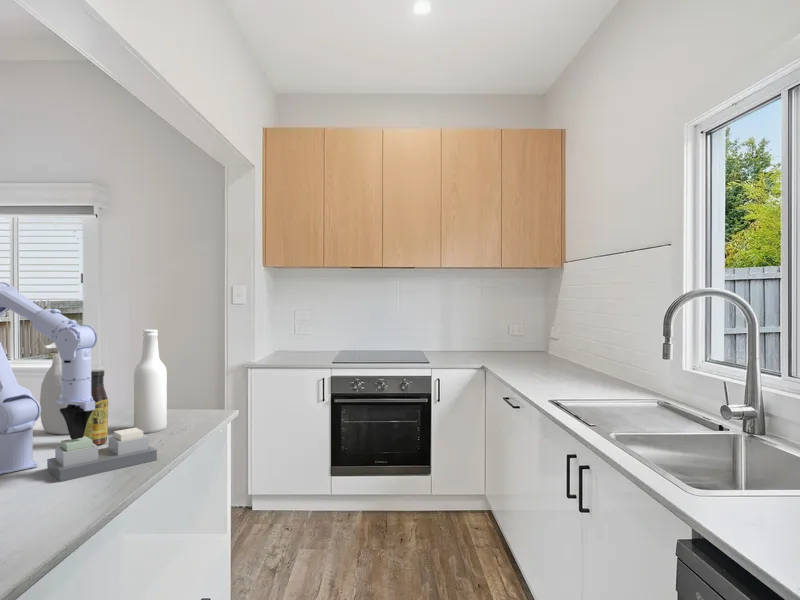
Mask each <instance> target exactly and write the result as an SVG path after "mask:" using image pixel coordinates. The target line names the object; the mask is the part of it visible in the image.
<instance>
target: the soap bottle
mask: <svg viewBox="0 0 800 600" xmlns="http://www.w3.org/2000/svg"><path fill="white" fill-rule="evenodd" d="M42 348H43V349H57V347H56V345H55V341H53V342H52V343H50V344H47V345H42ZM59 395H62V360H61V357H60V353H59V350H58V349H57V353H55V354H53V355H52V364H51V365H50V367H49V369H48V371H47V372H46V373H45V375H44V378H43V379H42V382H41V388H40V395H39V396H40V397H39V404H40V406H41V414H40V422H41V425H42V428H43V430H44V432H46V433H49V434H52V435H69V431H68V427H67V424H66V421H65V419H64V417H63V415H62V414H61V412H60V409H61V408H67V406H68V404H56V400H59Z"/></svg>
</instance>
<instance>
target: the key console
mask: <svg viewBox="0 0 800 600" xmlns="http://www.w3.org/2000/svg"><path fill="white" fill-rule="evenodd" d="M149 438H150V437H149V436H148V435H146V434H145V433H143V437H142V438H136V439H131V440H126V441H121V442H120V441H119V440H117V439H115V438H114V435H113V436H109V437H108V447H103V448H99V445H95V444H94V443H93V447H89V448H84V449H78V450H73V451H68V452H66V451H65V450H64V449H62V448H61V445H57V446H55V453H54V454H55V457H50V458H47V459H46V460H47V461H46V462H47V465H46V467H47V468H46V469H47V471H48V473H50V474H51V475H52V476H53V477H54V478H56V479H57V481H59V482H60V483H61V482H66V481H70V480H73V479H74V480H75V479H80V478H83V477H87V476H92V475H96V474H100V473H101V474H102V473H105V472H109V471H115V470H119V469H124V468H127V467H132V466H137V465H141V464H145V463H149V462H156V461H157V458H158V456H157V451H158V449H156V448H154V447H152V446H150V445H149V442H150V441H149V440H150V439H149Z"/></svg>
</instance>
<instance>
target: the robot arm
mask: <svg viewBox="0 0 800 600" xmlns="http://www.w3.org/2000/svg"><path fill="white" fill-rule="evenodd" d="M7 310H9V311H12V312H14V313H15V314H16V315H19V316H21V317H23V318H25V319H26V320H29V321H30V322H31V323H32V329H34V330H35V331H37V332H38V333H40V334H42V335H43V336H45V337H46V338H48V339H50V340H51V341H53V342H55V345H56V347H57V348H56V349H57V351H58V350H59V353H60V357H61V360H62V395H59V400H56V404H68V406H67V408H61V409H60V412H61V414H62V415H63V417H64V419H65V421H66V424H67V427H68V431H69V434H68V435H69V437H70V438H69V439H73V440H74V439H79V438H83V435H84V432H85V428H86V424H87V421H88V419H89V417H90V415H91V413H92V411H93V410H95V401H93V398H92V396H91V370H92V349H93V348H94V347H95V346H96V344H97V341H98V335H97V332H96V330H95V329H94V328H93V327H91V325H88V324H82V325H80V324H78V321H77V320H74V319H70V318H68V317H67V316H65V315H63V314H61V311H62V310H60V309H58V308H41V307H40V306H39V305H38V304H36V303H34V302H33V301H32V300H31V299H29V298H27V297H26V296H25V295H24V294H21V292H19V290H18V288H17V287H16V286H13V285H11V284H9V283H8V282H5V281H3V282H2V281H1V282H0V318H1V317H2V316H3V315H4V314H5V312H6V311H7ZM40 414H41V406H40V401H38V399H36V398H35V397H34V395H33V393H32V391H31V390H30V389H28V388H26V387H24V386H22V385H20V384H19V383H18V381H17V378H16V376H15V374H14V372H13V369H12V367H11V363H10V361H9V359H8V357H7V353H6V352H5V349H4V347H3V345H2V343H1V341H0V475H3V474H8V473H13V472H17V471H25V470H28V469H34V468H37V467H38V466H39V464H38V463H37V462H36V461H35V460H34V459H33V458H34V453H33V448H34V446H33V445H34V444H33V442H34V441H33V440H34V439H33V437H34V434H33V433H34V431H33V429H34V426H36V421H37V420H39V418H41V416H40Z"/></svg>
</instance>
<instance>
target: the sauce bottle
mask: <svg viewBox="0 0 800 600" xmlns="http://www.w3.org/2000/svg"><path fill="white" fill-rule="evenodd" d="M104 377H105V370H104V369H91V396H92V398H93V401H95V410H93V411H92V413H91V415H90V417H89V419H88V421H87V424H86V428H85V432H84V435H83V437H85V436H86V437H88V438H90V439H91V440H93V443H94V444H95V445H97V446H101V445H104V444H105V443H106V442H107V440H108V429H109V428H108V427H109V422H108V421H109V399H108V396H107V392H106V389H105V386H104V385H105V384H104Z"/></svg>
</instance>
